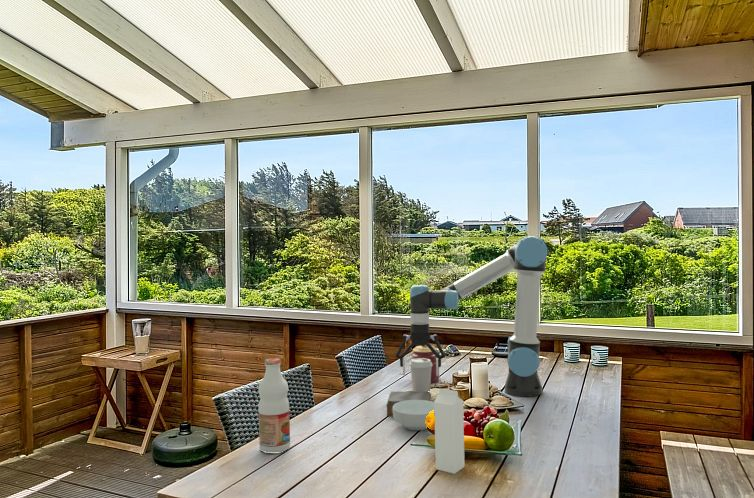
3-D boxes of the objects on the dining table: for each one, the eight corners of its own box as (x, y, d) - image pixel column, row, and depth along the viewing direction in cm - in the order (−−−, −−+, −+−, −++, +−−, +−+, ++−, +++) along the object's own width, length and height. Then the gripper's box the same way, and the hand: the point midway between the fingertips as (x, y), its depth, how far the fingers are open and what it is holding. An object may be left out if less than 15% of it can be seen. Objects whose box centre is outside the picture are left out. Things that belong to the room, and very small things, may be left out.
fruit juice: (259, 445, 176) (256, 357, 175) (289, 442, 178) (286, 355, 178) (260, 456, 167) (257, 363, 166) (291, 452, 169) (288, 361, 168)
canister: (407, 382, 249) (406, 343, 249) (416, 376, 261) (415, 338, 261) (435, 384, 244) (434, 345, 244) (443, 377, 256) (442, 340, 256)
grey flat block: (431, 404, 215) (430, 391, 215) (430, 416, 201) (430, 401, 201) (390, 404, 216) (389, 391, 216) (387, 415, 202) (386, 401, 202)
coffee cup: (432, 400, 220) (431, 363, 220) (408, 399, 222) (407, 362, 222) (434, 393, 230) (433, 358, 230) (411, 393, 232) (410, 357, 231)
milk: (446, 462, 158) (444, 385, 158) (465, 467, 155) (463, 388, 155) (435, 469, 154) (433, 390, 154) (454, 474, 150) (452, 393, 150)
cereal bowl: (408, 438, 178) (408, 416, 178) (384, 424, 193) (383, 404, 193) (451, 429, 186) (451, 408, 186) (425, 416, 201) (424, 396, 201)
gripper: (450, 321, 228) (451, 372, 228) (390, 321, 231) (391, 372, 231) (450, 324, 221) (451, 377, 221) (388, 324, 223) (389, 376, 224)
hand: (420, 374), depth 226 cm, fingers open, 13 cm apart
